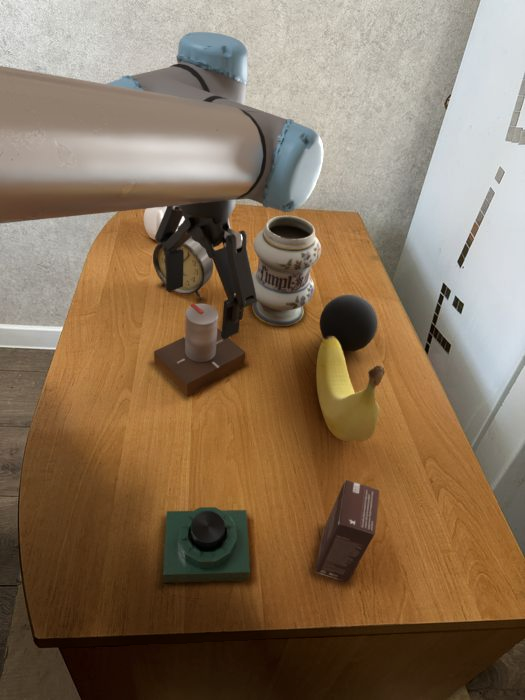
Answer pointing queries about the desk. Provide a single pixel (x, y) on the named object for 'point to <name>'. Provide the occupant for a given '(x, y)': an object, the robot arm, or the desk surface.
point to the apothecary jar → (284, 269)
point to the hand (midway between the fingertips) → (201, 310)
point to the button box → (206, 565)
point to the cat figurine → (155, 220)
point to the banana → (345, 395)
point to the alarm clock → (187, 266)
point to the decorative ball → (349, 322)
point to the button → (207, 530)
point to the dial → (201, 332)
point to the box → (348, 531)
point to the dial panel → (198, 364)
